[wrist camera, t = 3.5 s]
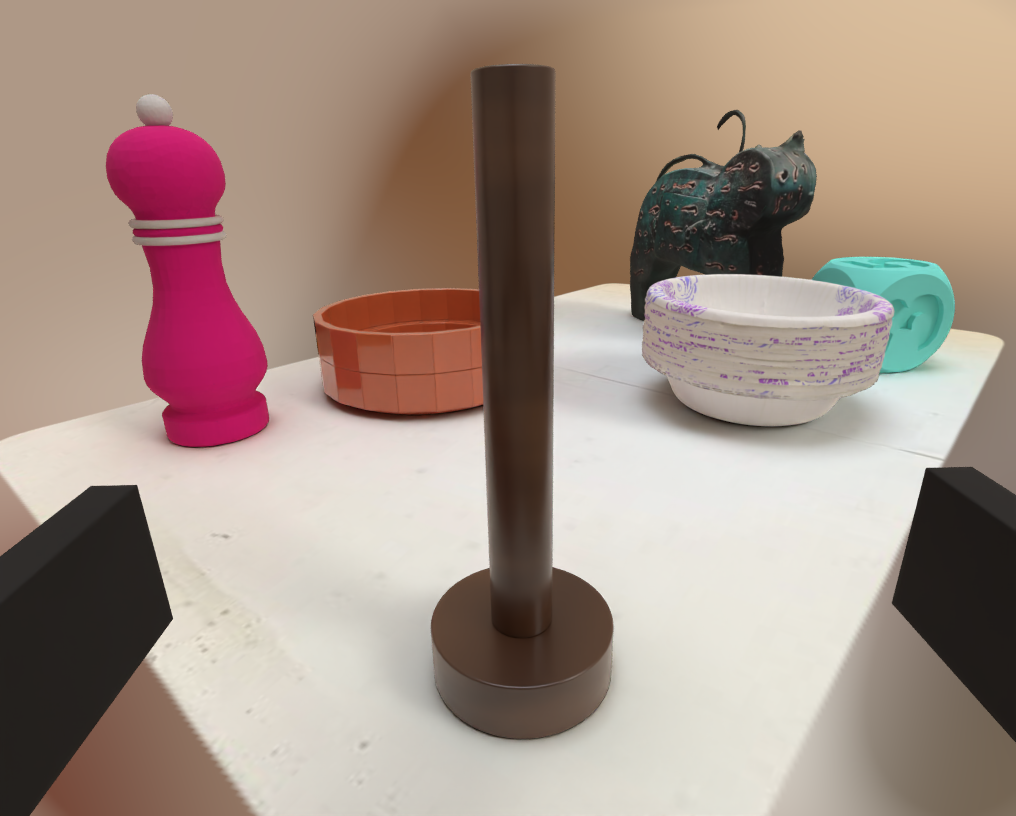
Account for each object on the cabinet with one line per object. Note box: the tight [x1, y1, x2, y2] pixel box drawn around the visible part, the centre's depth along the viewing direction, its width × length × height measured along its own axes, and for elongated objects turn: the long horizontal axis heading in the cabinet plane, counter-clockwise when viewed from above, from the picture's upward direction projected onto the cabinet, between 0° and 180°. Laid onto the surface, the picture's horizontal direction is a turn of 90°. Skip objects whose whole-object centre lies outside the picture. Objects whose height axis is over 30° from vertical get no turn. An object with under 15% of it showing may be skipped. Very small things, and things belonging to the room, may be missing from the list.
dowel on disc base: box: [431, 64, 614, 739], centre depth 18 cm, size 6×6×18 cm
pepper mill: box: [106, 94, 269, 447], centre depth 38 cm, size 7×7×20 cm
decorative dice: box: [812, 257, 955, 373], centre depth 51 cm, size 8×8×8 cm
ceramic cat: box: [630, 110, 817, 320], centre depth 58 cm, size 20×6×20 cm, turn 24°
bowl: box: [313, 288, 483, 415], centre depth 48 cm, size 16×16×6 cm
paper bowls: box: [642, 274, 895, 426], centre depth 42 cm, size 15×15×8 cm
